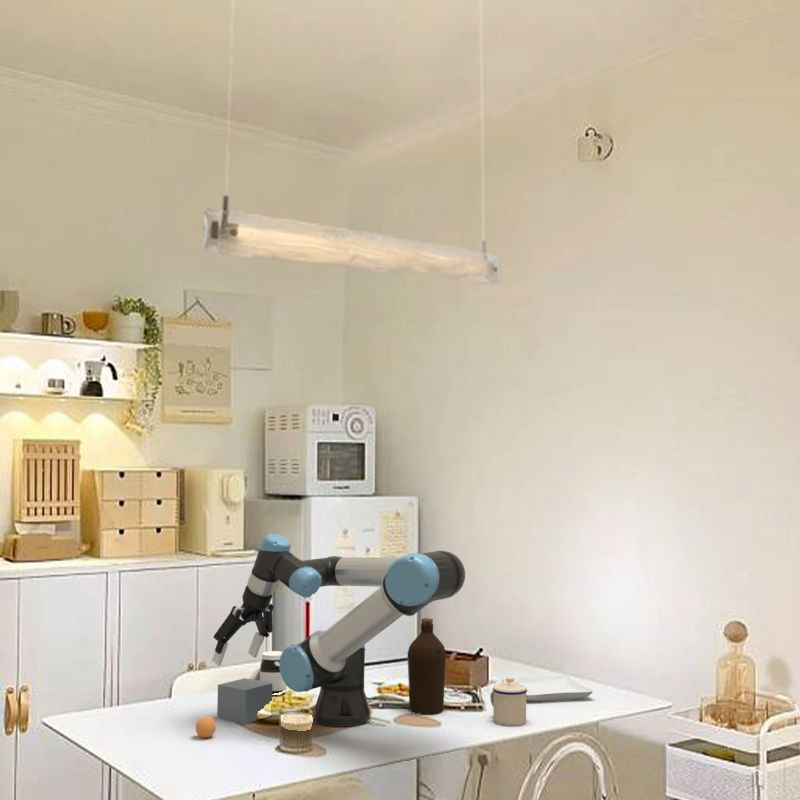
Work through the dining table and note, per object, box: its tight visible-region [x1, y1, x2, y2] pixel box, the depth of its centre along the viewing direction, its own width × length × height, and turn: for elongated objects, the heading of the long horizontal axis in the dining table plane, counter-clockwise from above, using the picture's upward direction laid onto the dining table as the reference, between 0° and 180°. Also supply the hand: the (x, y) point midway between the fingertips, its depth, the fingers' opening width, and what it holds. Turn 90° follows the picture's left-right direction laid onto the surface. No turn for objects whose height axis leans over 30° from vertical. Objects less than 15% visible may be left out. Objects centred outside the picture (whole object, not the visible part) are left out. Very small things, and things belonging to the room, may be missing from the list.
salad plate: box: [501, 674, 594, 702], centre depth 314 cm, size 21×21×3 cm
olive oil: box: [407, 617, 447, 715], centre depth 294 cm, size 11×11×25 cm
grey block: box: [216, 677, 273, 725], centre depth 284 cm, size 10×10×9 cm
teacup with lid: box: [489, 676, 527, 727], centre depth 283 cm, size 12×9×12 cm
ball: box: [195, 716, 217, 739], centre depth 264 cm, size 5×5×5 cm
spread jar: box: [249, 650, 288, 694], centre depth 313 cm, size 12×11×12 cm
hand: (234, 658), depth 288 cm, fingers open, 13 cm apart
